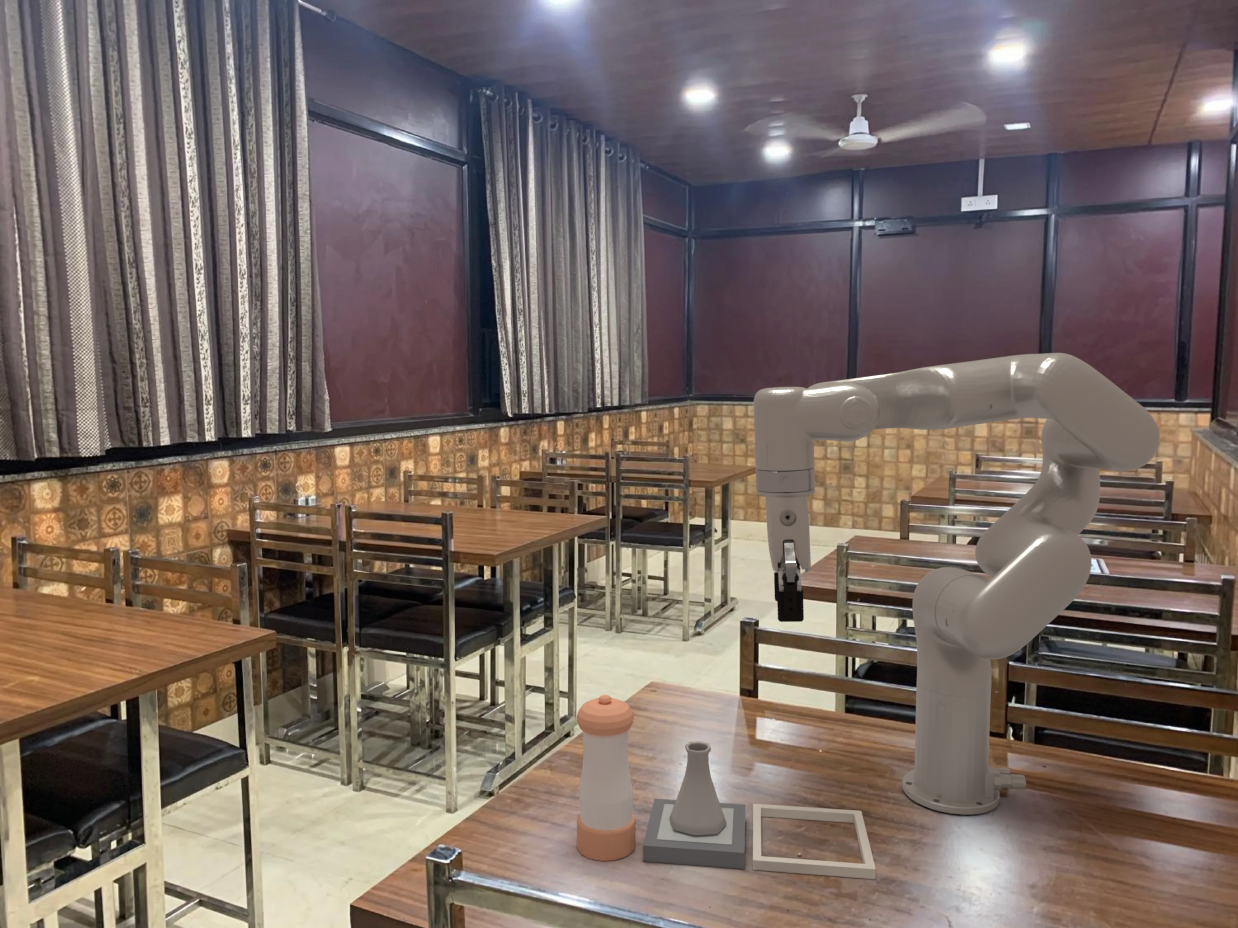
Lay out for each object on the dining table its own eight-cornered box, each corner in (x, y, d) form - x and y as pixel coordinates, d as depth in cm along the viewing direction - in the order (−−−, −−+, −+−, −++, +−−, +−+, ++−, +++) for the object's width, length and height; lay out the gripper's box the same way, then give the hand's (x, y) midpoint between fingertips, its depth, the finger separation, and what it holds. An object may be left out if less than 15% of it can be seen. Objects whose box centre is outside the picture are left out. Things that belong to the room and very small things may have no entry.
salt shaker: (643, 835, 112) (642, 688, 110) (624, 865, 105) (623, 709, 103) (589, 826, 114) (588, 682, 112) (567, 855, 107) (566, 702, 105)
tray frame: (861, 819, 115) (861, 810, 115) (875, 879, 102) (875, 869, 101) (753, 812, 117) (753, 803, 117) (752, 869, 104) (752, 859, 104)
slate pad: (745, 818, 116) (745, 803, 115) (744, 868, 104) (744, 851, 104) (654, 812, 117) (654, 797, 117) (643, 861, 106) (643, 844, 105)
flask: (724, 840, 106) (724, 760, 105) (665, 834, 108) (664, 755, 107) (729, 811, 113) (729, 736, 112) (673, 806, 115) (673, 732, 114)
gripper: (820, 490, 106) (823, 629, 107) (809, 473, 123) (812, 593, 124) (757, 492, 107) (761, 629, 108) (754, 475, 124) (758, 594, 125)
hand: (788, 610), depth 116 cm, fingers open, 9 cm apart
